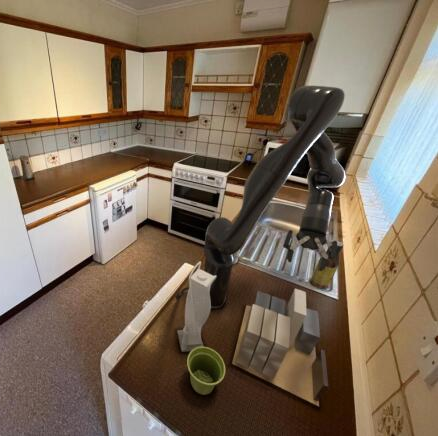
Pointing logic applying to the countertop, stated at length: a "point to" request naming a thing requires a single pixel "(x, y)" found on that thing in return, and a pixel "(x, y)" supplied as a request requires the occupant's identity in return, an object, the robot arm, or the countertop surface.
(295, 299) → the white book
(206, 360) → the plant pot
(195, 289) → the skyscraper
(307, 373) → the book board
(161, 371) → the countertop surface
